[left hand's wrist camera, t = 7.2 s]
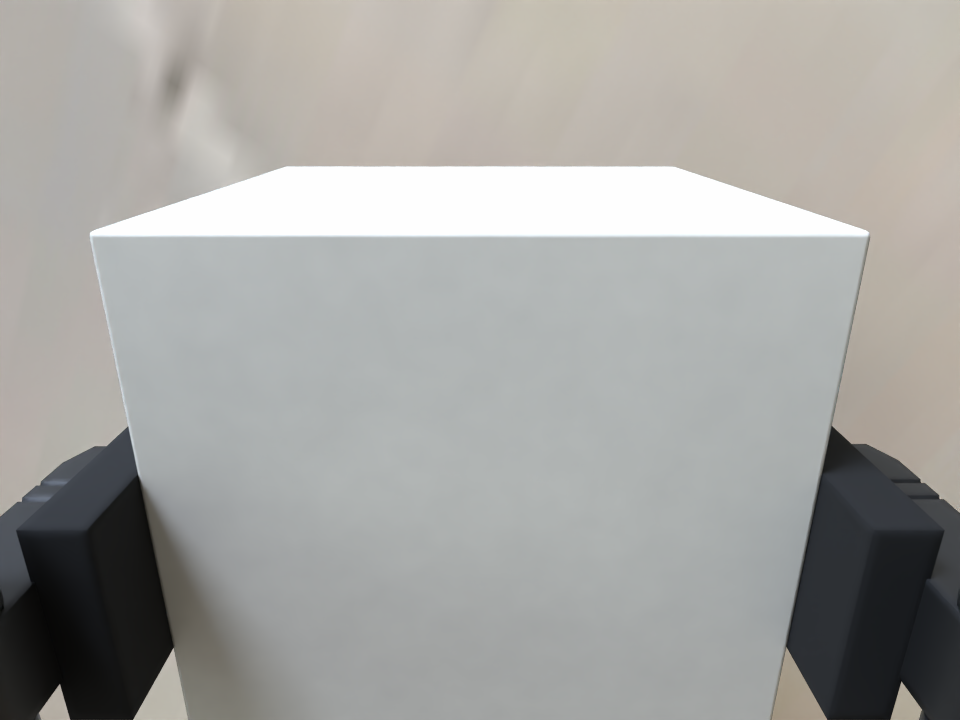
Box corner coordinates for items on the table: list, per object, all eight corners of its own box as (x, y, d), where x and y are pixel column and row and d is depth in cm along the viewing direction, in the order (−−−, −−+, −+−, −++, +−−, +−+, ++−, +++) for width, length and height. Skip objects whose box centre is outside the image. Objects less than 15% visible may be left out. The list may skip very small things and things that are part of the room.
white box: (318, 514, 18) (203, 805, 10) (283, 166, 14) (85, 230, 7) (641, 514, 18) (756, 805, 10) (676, 166, 14) (874, 230, 7)
